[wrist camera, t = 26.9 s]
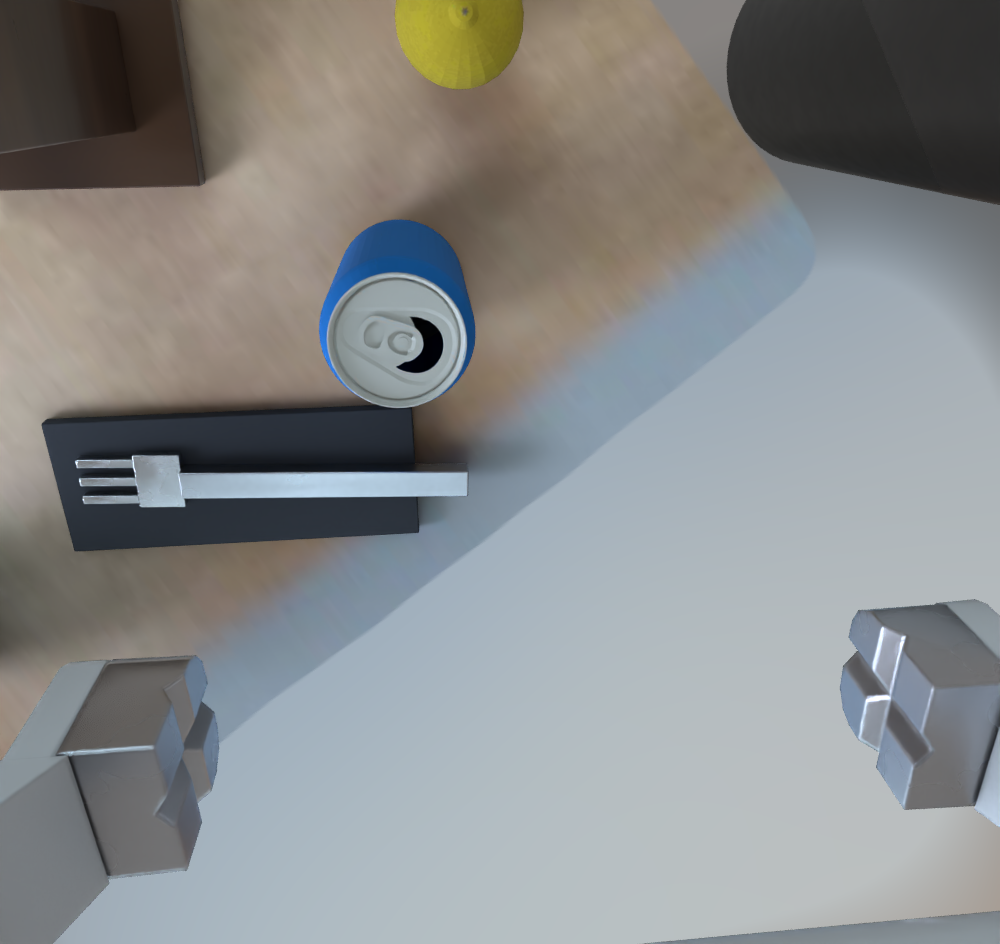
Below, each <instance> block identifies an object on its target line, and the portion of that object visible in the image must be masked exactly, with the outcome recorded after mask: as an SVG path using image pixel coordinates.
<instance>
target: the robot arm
mask: <svg viewBox="0 0 1000 944" xmlns="http://www.w3.org/2000/svg"><path fill="white" fill-rule="evenodd" d="M849 638H850V640H851V641H852V643H853V644H854V645H855V647H856V649H857V650H858V651H857V652H856V653H855V654H854V655H853V656H852V657H851V658H850V659H849V660H848V661H847V662H846V663H845V665H844V666H843V671H842V678H841V684H840V691H841V698H842V705H843V710H844V713H845V716H846V718H847V720H848V723H849V726H850V727H851V729H852V730H853V732H854V734H855V735H856V737H857V738H858V740H859V741H861V742H863V743H864V744H866V745H868V746H869V747H871V748H873V749H874V750H876V751H878V752H879V757H878V761H877V766H876V768H877V769H878V771H879V772H880V774H881V775H882V777H883V778H884V780H885V781H886V783H887V784H888V786H889V787H890V789H891V790H892V792H893V793H894V795H895V797H896V798H897V799H898V801H899V802H900V804H901V805H902V807H903V809H904V810H909V809H927V808H945V807H963V806H975V810H976V811H978V812H979V813H980V814H982V815H983V816H985V817H986V818H988V819H989V820H990V821H991V822H993V823H994V824H996V825H997V826H998V827H1000V616H999V615H998V614H997V613H996V612H995V611H994V610H993V609H991V607H989V605H988V604H986V603H983V602H980V601H978V600H975V599H974V600H963V601H953V602H943V603H936V604H935V605H924V606H910V607H896V608H883V609H870V610H858V612H857V614H856V615H855V617H854V618H853V620H852V624H851V629H850V633H849ZM207 684H208V682H207V678H206V674H205V670H204V667H203V663H202V661H201V660H200V659H199V658H198V657H197V656H196V655H194V656H173V657H152V658H131V659H113V660H112V661H111V660H97V661H82V662H70V663H68V664H66V665H64V666H62V667H61V668H60V669H59V670H58V672H57V674H56V675H55V677H54V678H53V680H52V682H51V683H50V685H49V686H48V688H47V690H46V691H45V693H44V694H43V696H42V698H41V699H40V701H39V702H38V704H37V706H36V707H35V709H34V710H33V712H32V714H31V715H30V717H29V718H28V720H27V721H26V723H25V725H24V726H23V728H22V729H21V731H20V733H19V734H18V736H17V737H16V739H15V741H14V742H13V744H12V745H11V747H10V749H9V750H8V752H7V753H6V755H5V757H4V758H3V760H0V944H53V943H54V942H55V941H56V940H57V939H58V938H59V937H60V935H62V933H63V932H64V931H65V930H66V929H67V928H68V927H69V926H70V925H71V924H72V923H73V922H74V921H75V920H76V919H77V918H78V916H79V915H80V914H81V913H82V912H83V911H84V910H85V909H86V908H87V907H88V906H89V905H90V904H91V902H92V901H93V900H94V899H95V898H96V897H97V896H98V895H99V894H100V893H101V892H102V891H103V890H104V888H106V886H108V884H109V880H108V879H115V878H124V877H132V876H141V875H151V874H159V873H168V872H177V871H186V870H187V869H188V866H189V862H190V859H191V856H192V853H193V849H194V846H195V843H196V840H197V837H198V833H199V830H200V826H201V824H202V820H201V816H200V812H199V807H198V803H199V802H200V801H201V800H202V799H203V798H204V797H205V796H207V795H208V794H209V793H210V792H211V790H212V787H213V783H214V779H215V776H216V772H217V763H218V753H219V740H218V728H217V723H216V718H215V713H214V711H212V710H211V709H210V708H209V707H208V706H207V705H205V704H204V703H203V702H202V698H203V695H204V692H205V689H206V687H207ZM645 944H1000V911H993V912H982V913H972V914H961V915H949V916H938V917H928V918H916V919H905V920H896V921H884V922H873V923H862V924H851V925H840V926H829V927H818V928H807V929H796V930H785V931H775V932H764V933H752V934H742V935H730V936H720V937H709V938H699V939H688V940H677V941H667V942H655V943H645Z"/></svg>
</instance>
